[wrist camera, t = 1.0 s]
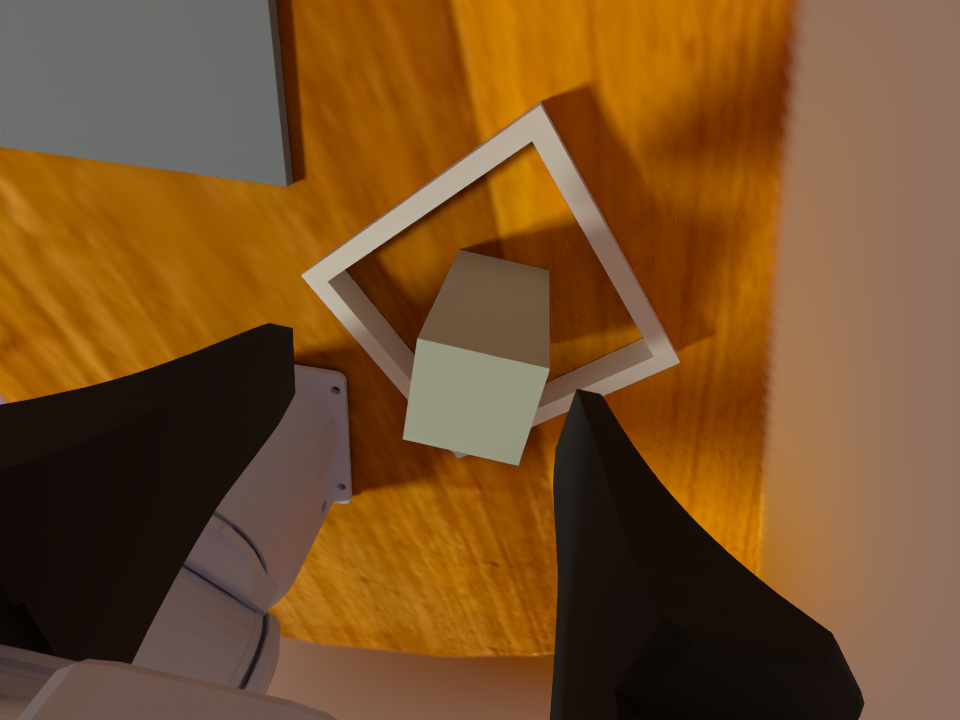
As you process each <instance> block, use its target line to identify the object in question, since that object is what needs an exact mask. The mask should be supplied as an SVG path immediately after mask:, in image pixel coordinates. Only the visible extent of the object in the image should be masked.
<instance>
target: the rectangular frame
mask: <svg viewBox="0 0 960 720" xmlns="http://www.w3.org/2000/svg"><path fill="white" fill-rule="evenodd" d="M531 141H532V142H533V143H534V145H535V147H536V149H537V150H538V152H539V154H540V156H541V158H542V159H543V161H544V163H545V165H546V166H547V168H548V170H549V172H550V173H551V175H552V177H553V179H554V181H555V182H556V184H557V186H558V188H559V189H560V191H561V193H562V195H563V196H564V198H565V200H566V202H567V204H568V205H569V207H570V209H571V211H572V212H573V214H574V216H575V218H576V219H577V221H578V223H579V225H580V227H581V228H582V230H583V232H584V234H585V235H586V237H587V239H588V241H589V242H590V244H591V246H592V248H593V250H594V251H595V253H596V255H597V257H598V258H599V260H600V262H601V264H602V265H603V267H604V269H605V271H606V273H607V274H608V276H609V278H610V280H611V281H612V283H613V285H614V287H615V288H616V290H617V292H618V294H619V296H620V297H621V299H622V301H623V303H624V304H625V306H626V308H627V310H628V311H629V313H630V315H631V317H632V319H633V320H634V322H635V324H636V326H637V327H638V329H639V331H640V333H641V334H642V336H643V338H642V339H640V340H638V341H636V342H634V343H632V344H629V345H627V346H625V347H623V348H621V349H619V350H617V351H614V352H612V353H610V354H608V355H606V356H604V357H602V358H599V359H597V360H595V361H593V362H591V363H589V364H587V365H584V366H582V367H580V368H578V369H576V370H574V371H572V372H569V373H567V374H565V375H563V376H561V377H559V378H557V379H554V380H552V381H550V382H548V383H546V384H545V386H544V389H543V392H542V395H541V398H540V401H539V404H538V407H537V410H536V413H535V417H534V420H533V423H532V426H531V427H533V426H536V425H538V424H540V423H542V422H545V421H547V420H549V419H552V418H554V417H556V416H559V415H561V414H563V413H565V412H568V411H569V409H570V406H571V403H572V400H573V397H574V394H575V392H576V389H580V390H585V391H590V392H594V393H599V394H601V395H602V396H605V395H607V394H609V393H612V392H614V391H616V390H619V389H621V388H623V387H625V386H628V385H630V384H632V383H635V382H637V381H639V380H642V379H644V378H646V377H648V376H651V375H653V374H655V373H658V372H660V371H662V370H665V369H667V368H669V367H672V366H674V365H676V364H678V363H680V361H679V359H678V356H677V354H676V352H675V350H674V347H673V345H672V343H671V341H670V339H669V337H668V335H667V333H666V331H665V330H664V328H663V326H662V324H661V322H660V320H659V318H658V317H657V315H656V313H655V311H654V309H653V307H652V306H651V304H650V302H649V300H648V298H647V296H646V294H645V293H644V291H643V289H642V287H641V285H640V283H639V281H638V280H637V278H636V276H635V274H634V272H633V270H632V268H631V267H630V265H629V263H628V261H627V259H626V257H625V255H624V254H623V252H622V250H621V248H620V246H619V244H618V243H617V241H616V239H615V237H614V235H613V233H612V231H611V230H610V228H609V226H608V224H607V222H606V220H605V218H604V217H603V215H602V213H601V211H600V209H599V207H598V205H597V204H596V202H595V200H594V198H593V196H592V194H591V192H590V191H589V189H588V187H587V185H586V183H585V181H584V180H583V178H582V176H581V174H580V172H579V170H578V168H577V167H576V165H575V163H574V161H573V159H572V157H571V155H570V154H569V152H568V150H567V148H566V146H565V144H564V142H563V141H562V139H561V137H560V135H559V133H558V131H557V129H556V128H555V126H554V124H553V122H552V120H551V118H550V117H549V115H548V113H547V111H546V109H545V107H544V105H543V104H542V102H541V101H540V102H539V103H538V104H536V105H535V106H534V107H532V108H531V109H529V110H528V111H527V112H525V113H524V114H522V115H521V116H520V117H518V118H517V119H515V120H514V121H513V122H511V123H510V124H508V125H507V126H506V127H504V128H503V129H501V130H500V131H499V132H497V133H496V134H494V135H493V136H492V137H490V138H489V139H487V140H486V141H485V142H483V143H482V144H480V145H479V146H478V147H476V148H475V149H473V150H472V151H471V152H469V153H468V154H467V155H465V156H464V157H462V158H461V159H460V160H458V161H457V162H455V163H454V164H453V165H451V166H450V167H448V168H447V169H446V170H444V171H443V172H441V173H440V174H439V175H437V176H436V177H434V178H433V179H432V180H430V181H429V182H427V183H426V184H425V185H423V186H422V187H420V188H419V189H418V190H416V191H415V192H413V193H412V194H411V195H409V196H408V197H406V198H405V199H404V200H402V201H401V202H400V203H398V204H397V205H395V206H394V207H393V208H391V209H390V210H388V211H387V212H386V213H384V214H383V215H381V216H380V217H379V218H377V219H376V220H374V221H373V222H372V223H370V224H369V225H367V226H366V227H365V228H363V229H362V230H360V231H359V232H358V233H356V234H355V235H353V236H352V237H351V238H349V239H348V240H346V241H345V242H344V243H342V244H341V245H340V246H338V247H337V248H335V249H334V250H333V251H331V252H330V253H328V254H327V255H326V256H324V257H323V258H321V259H320V260H319V261H317V262H316V263H315V264H314V265H313V266H312V267H310V268H309V269H308V270H307V271H306V272H305V273H304V274H302V275H301V276H302V277H303V278H304V280H305V281H306V282H307V283H308V284H309V285H310V287H311V288H312V289H313V290H314V291H315V292H316V294H317V295H318V296H319V297H320V298H321V299H322V301H323V302H324V303H325V304H326V305H327V306H328V308H329V309H330V310H331V311H332V312H333V313H334V315H335V316H336V317H337V318H338V319H339V320H340V322H341V323H342V324H343V325H344V326H345V327H346V329H347V330H348V331H349V332H350V333H351V334H352V336H353V337H354V338H355V339H356V340H357V341H358V343H359V344H360V345H361V346H362V347H363V348H364V350H365V351H366V352H367V353H368V354H369V355H370V357H371V358H372V359H373V360H374V361H375V362H376V364H377V365H378V366H379V367H380V368H381V369H382V371H383V372H384V373H385V374H386V375H387V376H388V378H389V379H390V380H391V381H392V382H393V383H394V385H395V386H396V387H397V388H398V389H399V390H400V392H401V393H402V394H403V395H404V396H405V397H406V399H407V400H408V399H409V392H410V385H411V378H412V371H413V364H414V357H415V355H414V354H413V353H412V352H411V350H410V349H409V348H408V347H407V345H406V344H405V343H404V342H403V340H402V339H401V338H400V337H399V336H398V334H397V333H396V332H395V331H394V329H393V328H392V327H391V326H390V324H389V323H388V322H387V321H386V320H385V318H384V317H383V316H382V315H381V313H380V312H379V311H378V310H377V308H376V307H375V306H374V305H373V304H372V302H371V301H370V300H369V299H368V297H367V296H366V295H365V294H364V292H363V291H362V290H361V289H360V287H359V286H358V285H357V284H356V283H355V281H354V280H353V279H352V278H351V276H350V275H349V274H348V273H347V271H346V270H345V269H346V268H348V267H349V266H351V265H352V264H354V263H355V262H357V261H358V260H360V259H361V258H362V257H364V256H365V255H367V254H368V253H370V252H371V251H373V250H374V249H376V248H377V247H378V246H380V245H381V244H383V243H384V242H386V241H387V240H389V239H390V238H392V237H393V236H394V235H396V234H397V233H399V232H400V231H402V230H403V229H405V228H406V227H408V226H409V225H410V224H412V223H413V222H415V221H416V220H418V219H419V218H421V217H422V216H424V215H425V214H426V213H428V212H429V211H431V210H432V209H434V208H435V207H437V206H438V205H440V204H441V203H443V202H444V201H445V200H447V199H448V198H450V197H451V196H453V195H454V194H456V193H457V192H459V191H460V190H461V189H463V188H464V187H466V186H467V185H469V184H470V183H472V182H473V181H475V180H476V179H477V178H479V177H480V176H482V175H483V174H485V173H486V172H488V171H489V170H491V169H492V168H493V167H495V166H496V165H498V164H499V163H501V162H502V161H504V160H505V159H507V158H508V157H509V156H511V155H512V154H514V153H515V152H517V151H518V150H520V149H521V148H523V147H524V146H525V145H527V144H528V143H530V142H531ZM451 451H452V450H451ZM452 452H453V453H454V455H455V456H456V457H457V458H458V459H459V458H462V457H464V456H466V455H469V454H465V453H461V452H456V451H452Z"/></svg>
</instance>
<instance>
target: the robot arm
mask: <svg viewBox="0 0 960 720" xmlns="http://www.w3.org/2000/svg"><path fill="white" fill-rule="evenodd" d="M334 386H335V387H338V388H339V389H340V390H339V391H338V390H336V389H335V388H334ZM343 484H344V485H343ZM553 495H554V513H555V530H556V546H557V563H558V596H557V618H556V637H555V655H554V672H553V685H552V699H551V713H550V720H858V719H859V717H860V715H861V712H862V709H863V706H864V701H863V697H862V693H861V690H860V688H859V686H858V684H857V682H856V680H855V678H854V676H853V674H852V672H851V670H850V668H849V666H848V664H847V662H846V660H845V658H844V655H843V653H842V652H841V649H840V647H839V645H838V643H837V641H836V640H835V638H834V636H833V634H832V633H831V632H830V631H828V630H827V629H826V628H824V627H823V626H822V625H820V624H819V623H817V622H816V621H815V620H813V619H812V618H810V617H809V616H808V615H806V614H805V613H804V612H802V611H801V610H800V609H798V608H796V607H795V606H794V605H793V604H791V603H790V602H788V601H787V600H786V599H784V598H783V597H782V596H780V595H779V594H777V593H776V592H775V591H774V590H772V589H771V588H770V587H769V586H768V585H766V584H765V583H764V582H763V581H761V580H760V579H759V578H758V577H757V576H755V575H754V574H753V573H752V572H750V571H749V570H748V569H747V568H746V567H744V566H743V565H742V564H741V563H740V562H739V561H737V560H736V559H735V558H734V557H733V556H732V555H731V554H729V553H728V552H727V551H726V550H725V549H724V548H723V547H722V546H721V545H720V544H719V543H718V542H717V541H716V540H714V539H713V538H712V537H711V536H710V535H709V534H708V533H707V532H706V531H705V530H704V529H703V528H702V527H701V526H700V525H699V524H698V523H697V522H696V521H695V520H694V519H693V518H692V517H691V516H690V515H689V514H688V513H687V512H686V510H685V509H684V508H683V507H682V506H681V505H680V504H679V503H678V502H677V501H676V499H675V498H674V497H673V496H672V495H671V494H670V493H669V491H668V490H667V489H666V488H665V487H664V486H663V484H662V483H661V482H660V481H659V479H658V478H657V477H656V475H655V474H654V473H653V471H652V470H651V469H650V468H649V466H648V465H647V464H646V462H645V461H644V460H643V458H642V457H641V455H640V454H639V453H638V451H637V450H636V448H635V447H634V445H633V444H632V442H631V441H630V439H629V438H628V436H627V435H626V433H625V432H624V430H623V429H622V427H621V425H620V424H619V422H618V421H617V419H616V417H615V416H614V414H613V413H612V411H611V409H610V408H609V406H608V405H607V403H606V401H605V400H604V398H603V396H602V395H601V394H599V393H594V392H590V391H585V390H580V389H576V392H575V394H574V397H573V400H572V403H571V406H570V409H569V412H568V415H567V418H566V421H565V424H564V426H563V429H562V432H561V435H560V438H559V441H558V444H557V447H556V451H555V463H554V478H553ZM351 498H352V479H351V458H350V437H349V416H348V396H347V379H346V377H345V375H344V374H342V373H341V372H339V371H334V370H328V369H321V368H315V367H308V366H302V365H296V364H294V347H293V328H290V327H285V326H280V325H276V324H271V323H268V324H265V325H261V326H259V327H256V328H253V329H251V330H248V331H246V332H243V333H241V334H238V335H236V336H233V337H231V338H228V339H226V340H224V341H221V342H219V343H216V344H214V345H211V346H209V347H206V348H204V349H201V350H199V351H196V352H194V353H191V354H189V355H186V356H183V357H180V358H178V359H175V360H172V361H169V362H167V363H164V364H161V365H158V366H156V367H153V368H150V369H147V370H144V371H141V372H138V373H135V374H132V375H128V376H125V377H122V378H118V379H114V380H111V381H107V382H104V383H100V384H96V385H93V386H89V387H85V388H80V389H75V390H71V391H66V392H62V393H57V394H53V395H48V396H44V397H39V398H35V399H30V400H24V401H18V402H13V403H7V404H1V405H0V720H337V719H336V718H334V717H333V716H331V715H330V714H328V713H326V712H323V711H320V710H317V709H314V708H311V707H309V706H306V705H303V704H300V703H297V702H294V701H291V700H286V699H282V698H278V697H273V696H269V695H266V693H267V691H268V688H269V685H270V683H271V681H272V678H273V676H274V673H275V670H276V666H277V663H278V658H279V651H280V642H279V641H280V623H279V621H278V619H277V618H276V616H274V615H272V614H271V613H269V612H267V611H268V609H269V608H271V607H272V606H273V605H275V604H276V603H277V602H278V601H279V600H280V599H281V598H282V597H283V596H284V595H285V594H286V593H287V592H288V591H289V589H290V588H291V586H292V585H293V583H294V581H295V579H296V577H297V575H298V573H299V571H300V569H301V567H302V565H303V563H304V561H305V559H306V557H307V555H308V553H309V551H310V549H311V547H312V544H313V542H314V540H315V538H316V536H317V534H318V532H319V530H320V528H321V526H322V524H323V522H324V520H325V518H326V516H327V514H328V512H329V510H330V507H331V505H332V503H333V502H336V503H342V504H346V503H349V502H350V500H351Z"/></svg>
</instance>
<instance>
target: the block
mask: <svg viewBox="0 0 960 720" xmlns="http://www.w3.org/2000/svg"><path fill="white" fill-rule="evenodd" d="M549 371H550V277H549V270H546V269H542V268H538V267H533V266H529V265H525V264H520V263H516V262H512V261H507V260H503V259H499V258H494V257H490V256H486V255H481V254H477V253H472V252H468V251H464V250H459V251H458V253H457V255H456V257H455V259H454V262H453V264H452V266H451V268H450V270H449V272H448V274H447V276H446V278H445V281H444V283H443V285H442V287H441V289H440V291H439V293H438V295H437V298H436V300H435V302H434V304H433V306H432V308H431V310H430V312H429V315H428V317H427V319H426V321H425V323H424V325H423V327H422V329H421V331H420V334H419V336H418V338H417V344H416V351H415V357H414V364H413V371H412V378H411V385H410V392H409V399H408V406H407V413H406V420H405V427H404V434H403V439H404V440H408V441H413V442H417V443H421V444H426V445H430V446H434V447H439V448H443V449H448V450H452V451H456V452H461V453H465V454H469V455H474V456H478V457H482V458H487V459H491V460H495V461H500V462H504V463H509V464H513V465H517V466H519V463H520V460H521V456H522V453H523V450H524V447H525V444H526V441H527V438H528V435H529V432H530V429H531V426H532V423H533V420H534V417H535V413H536V410H537V407H538V404H539V401H540V398H541V395H542V392H543V389H544V386H545V383H546V380H547V377H548V374H549Z"/></svg>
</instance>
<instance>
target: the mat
mask: <svg viewBox="0 0 960 720" xmlns="http://www.w3.org/2000/svg"><path fill="white" fill-rule="evenodd" d="M0 147H6V148H13V149H20V150H27V151H35V152H42V153H49V154H56V155H63V156H71V157H78V158H85V159H92V160H99V161H107V162H114V163H121V164H128V165H135V166H142V167H150V168H157V169H164V170H171V171H178V172H186V173H193V174H200V175H207V176H214V177H222V178H229V179H236V180H243V181H250V182H257V183H265V184H272V185H279V186H286V187H287V186H289V185H291V184H293V176H292V165H291V154H290V144H289V133H288V122H287V112H286V101H285V91H284V80H283V69H282V59H281V48H280V37H279V27H278V16H277V5H276V0H0Z"/></svg>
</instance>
